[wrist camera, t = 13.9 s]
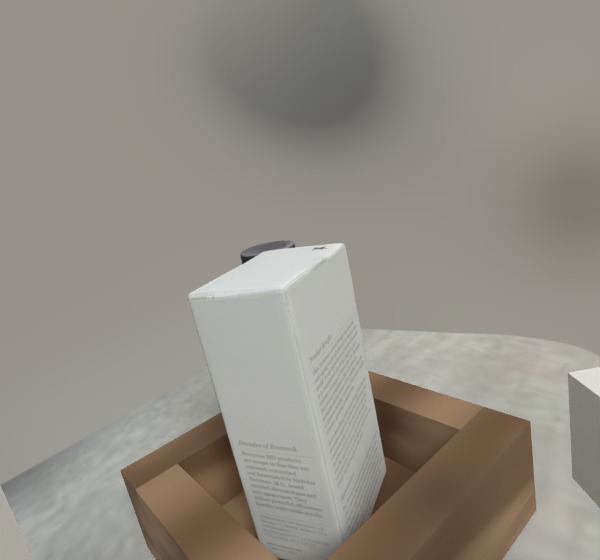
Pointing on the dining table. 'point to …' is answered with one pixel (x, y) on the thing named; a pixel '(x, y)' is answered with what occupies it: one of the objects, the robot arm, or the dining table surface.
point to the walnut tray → (391, 498)
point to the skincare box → (294, 396)
